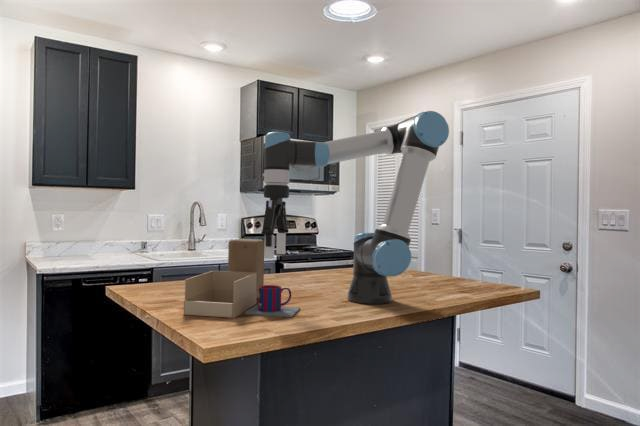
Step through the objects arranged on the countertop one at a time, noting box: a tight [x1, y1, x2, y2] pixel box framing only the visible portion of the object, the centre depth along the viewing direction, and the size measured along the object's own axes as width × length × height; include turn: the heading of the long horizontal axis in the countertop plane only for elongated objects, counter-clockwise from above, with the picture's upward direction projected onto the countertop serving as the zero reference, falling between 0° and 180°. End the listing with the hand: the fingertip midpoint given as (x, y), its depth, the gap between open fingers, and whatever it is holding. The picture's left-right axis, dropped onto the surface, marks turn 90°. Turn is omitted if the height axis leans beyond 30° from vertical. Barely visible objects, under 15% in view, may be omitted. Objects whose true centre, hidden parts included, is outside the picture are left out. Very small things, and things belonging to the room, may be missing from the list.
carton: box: [183, 270, 258, 319], centre depth 141 cm, size 15×21×10 cm
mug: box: [257, 284, 292, 312], centre depth 139 cm, size 7×10×7 cm
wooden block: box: [227, 238, 265, 299], centre depth 160 cm, size 10×10×20 cm
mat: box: [244, 304, 301, 318], centre depth 139 cm, size 14×11×1 cm
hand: (275, 256), depth 139 cm, fingers open, 13 cm apart
